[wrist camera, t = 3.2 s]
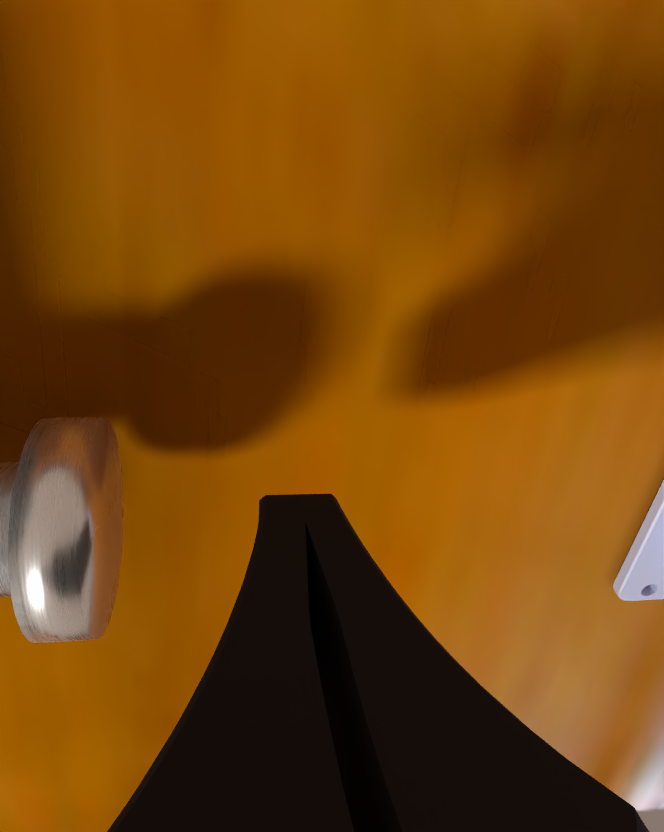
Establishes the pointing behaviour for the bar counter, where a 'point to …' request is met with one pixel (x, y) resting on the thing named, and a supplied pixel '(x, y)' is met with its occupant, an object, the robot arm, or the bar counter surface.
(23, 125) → the bar counter surface
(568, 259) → the bar counter surface
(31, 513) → the lynch pin
